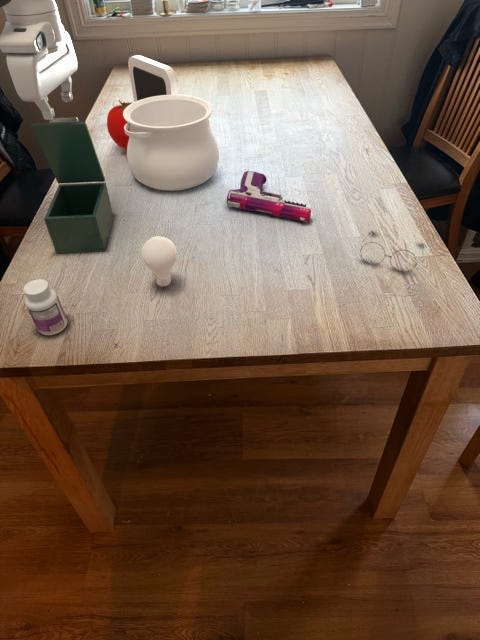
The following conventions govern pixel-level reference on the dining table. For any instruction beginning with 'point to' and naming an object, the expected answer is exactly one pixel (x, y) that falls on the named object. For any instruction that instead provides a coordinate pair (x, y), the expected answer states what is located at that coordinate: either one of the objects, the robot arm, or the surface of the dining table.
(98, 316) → the dining table surface
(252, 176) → the toy gun
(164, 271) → the light bulb
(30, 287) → the pill bottle
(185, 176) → the pot
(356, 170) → the dining table surface
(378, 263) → the eyeglasses
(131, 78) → the computer
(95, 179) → the lid
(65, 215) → the chest
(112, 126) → the tomato
